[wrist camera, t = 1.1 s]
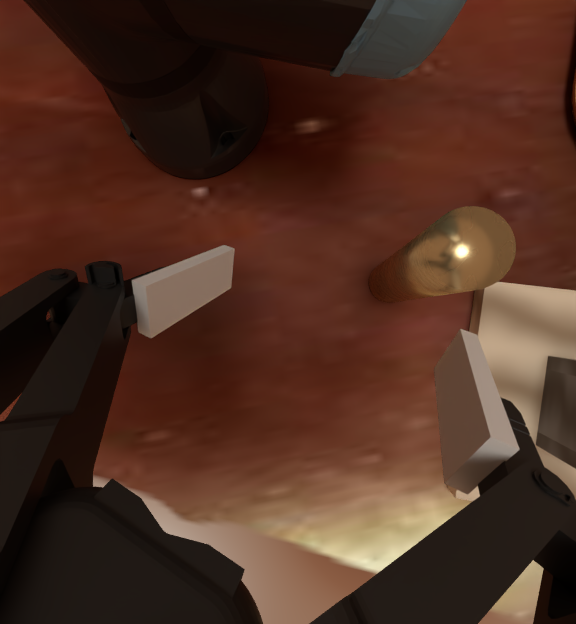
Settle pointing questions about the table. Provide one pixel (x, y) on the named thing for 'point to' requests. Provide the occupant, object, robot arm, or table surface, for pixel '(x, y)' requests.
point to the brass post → (448, 257)
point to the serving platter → (574, 97)
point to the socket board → (533, 365)
